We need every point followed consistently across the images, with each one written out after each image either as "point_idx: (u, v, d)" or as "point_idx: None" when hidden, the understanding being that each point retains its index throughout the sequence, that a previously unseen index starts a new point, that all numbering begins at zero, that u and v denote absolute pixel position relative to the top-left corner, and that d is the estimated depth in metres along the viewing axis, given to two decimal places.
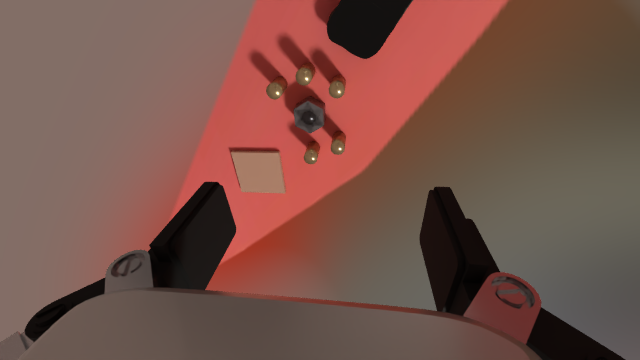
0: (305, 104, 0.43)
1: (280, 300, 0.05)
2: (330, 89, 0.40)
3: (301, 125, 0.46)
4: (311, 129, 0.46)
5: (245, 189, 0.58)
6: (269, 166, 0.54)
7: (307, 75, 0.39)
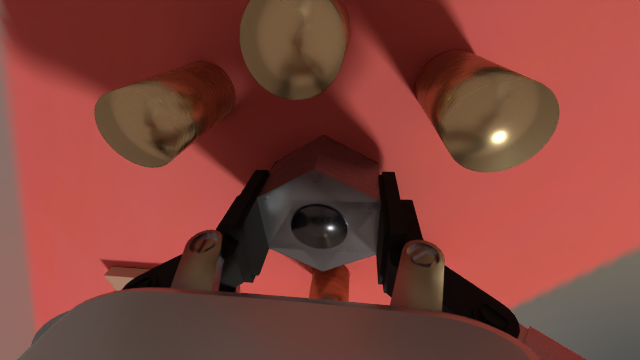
0: (305, 182, 0.10)
1: (280, 300, 0.05)
2: (460, 124, 0.06)
3: (290, 248, 0.12)
4: (328, 261, 0.12)
5: None
6: None
7: (320, 34, 0.06)
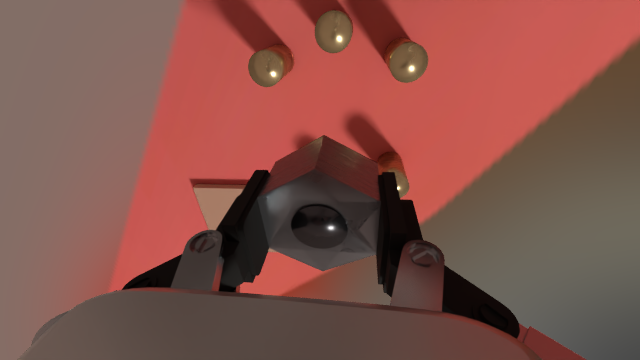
0: (305, 182, 0.10)
1: (280, 300, 0.05)
2: (394, 61, 0.17)
3: (290, 248, 0.12)
4: (328, 261, 0.12)
5: None
6: None
7: (343, 27, 0.17)
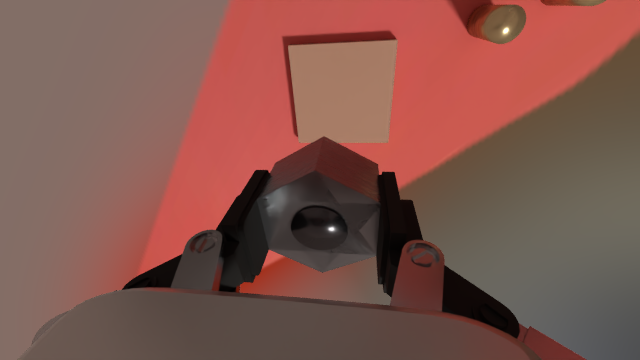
0: (305, 183, 0.10)
1: (280, 300, 0.05)
2: None
3: (290, 249, 0.12)
4: (328, 262, 0.12)
5: (307, 137, 0.30)
6: (368, 78, 0.25)
7: None
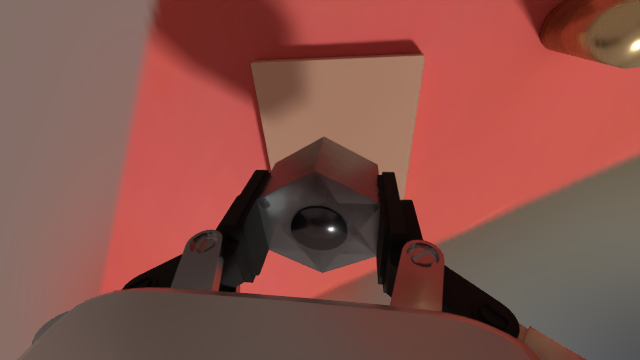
0: (305, 183, 0.10)
1: (280, 300, 0.05)
2: None
3: (290, 249, 0.12)
4: (328, 262, 0.12)
5: None
6: (376, 112, 0.16)
7: None
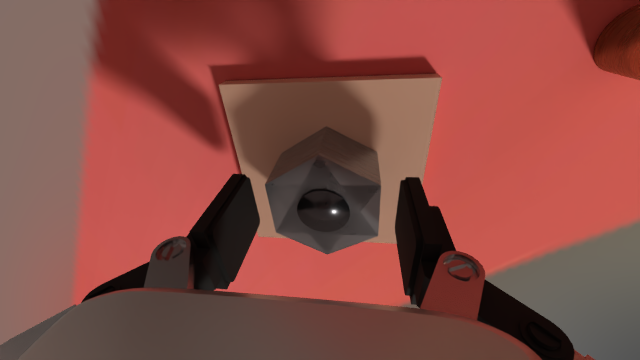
0: (310, 167, 0.11)
1: (280, 300, 0.05)
2: None
3: (296, 232, 0.13)
4: (332, 244, 0.13)
5: (271, 229, 0.17)
6: (378, 145, 0.13)
7: None
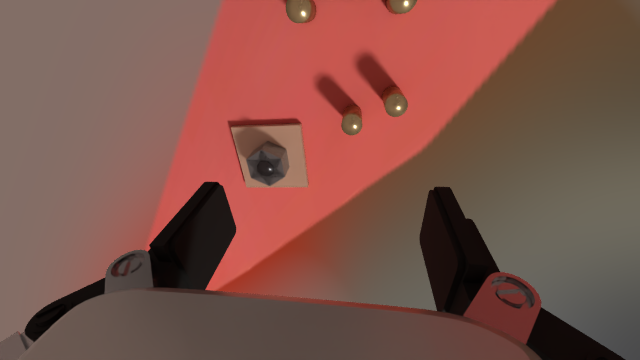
0: (259, 153, 0.35)
1: (280, 300, 0.05)
2: None
3: (258, 177, 0.37)
4: (270, 181, 0.37)
5: (251, 183, 0.41)
6: (286, 146, 0.37)
7: None
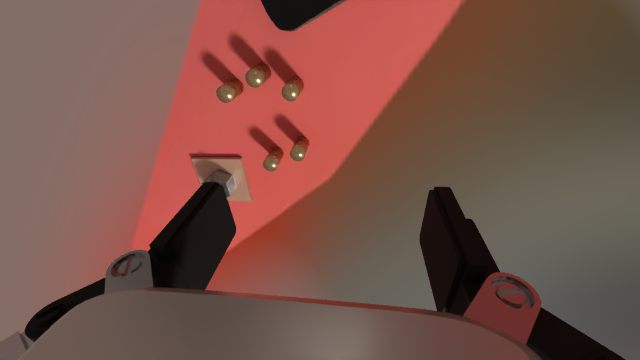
0: (210, 179, 0.49)
1: (280, 300, 0.05)
2: (283, 91, 0.37)
3: None
4: None
5: None
6: (232, 173, 0.51)
7: (258, 77, 0.37)
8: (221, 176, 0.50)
